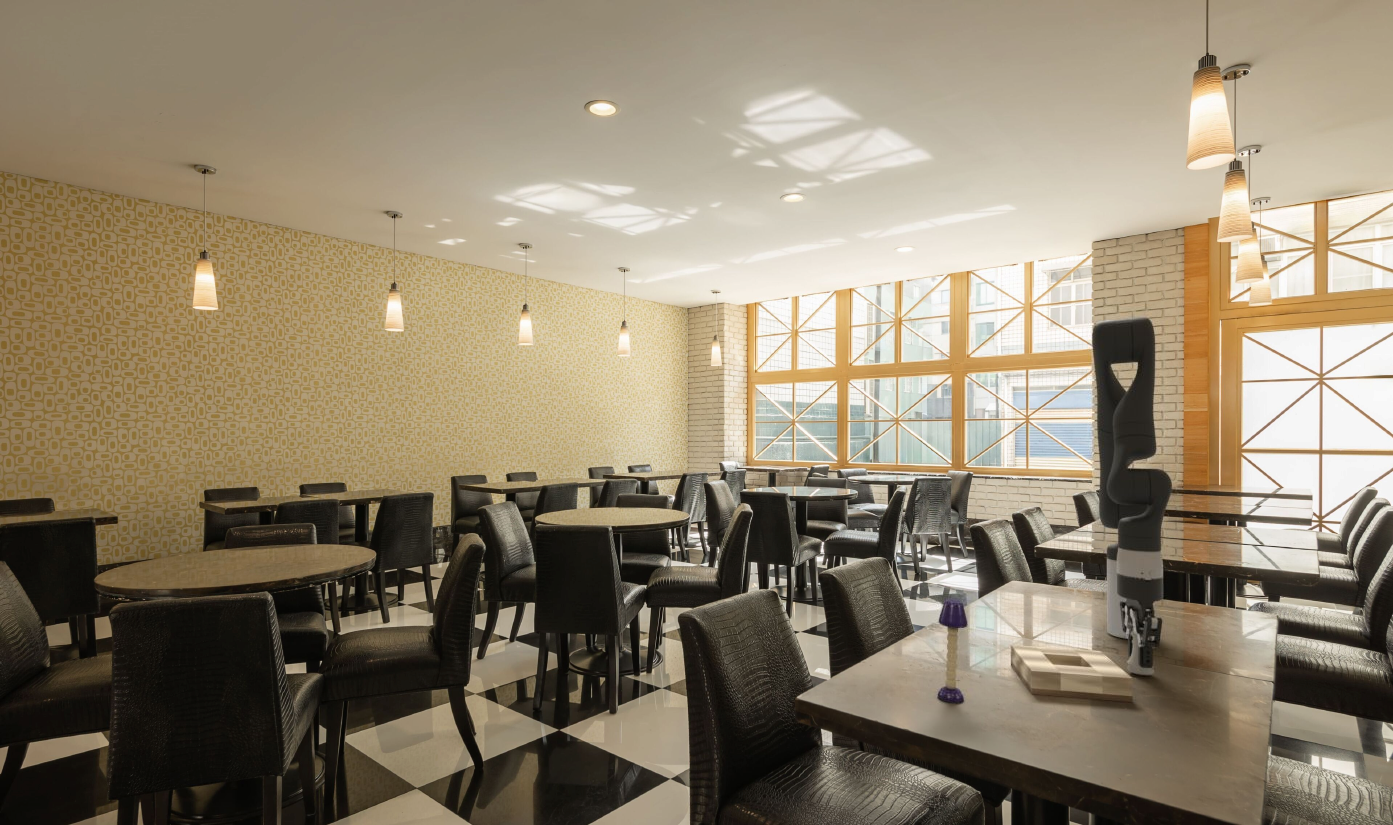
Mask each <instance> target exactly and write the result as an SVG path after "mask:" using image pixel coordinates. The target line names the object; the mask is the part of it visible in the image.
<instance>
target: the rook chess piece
mask: <svg viewBox="0 0 1393 825" xmlns="http://www.w3.org/2000/svg"><path fill="white" fill-rule="evenodd" d="M1140 629H1141V630H1143V628H1140ZM1130 634H1131V635H1132V637H1133V640H1132V643H1133V649H1132V654H1131V656H1130V658H1129V659H1128V660H1127V662H1126V663H1127V664H1128V665H1127V666H1126V668H1127V670H1128V671H1129V672H1130V673H1132V674H1136V675H1140V676H1151V675H1153V673H1155V670H1154V665H1153V667H1152V668H1142V667H1141V666H1139V664H1138V646H1139V645H1138V638H1137V634H1135V633H1134V629H1133V628H1132V632H1131V633H1130ZM1142 637H1143V635H1142ZM1148 638H1149V637H1148Z"/></svg>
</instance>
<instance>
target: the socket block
mask: <svg viewBox="0 0 1393 825" xmlns="http://www.w3.org/2000/svg"><path fill="white" fill-rule="evenodd" d="M1010 666H1011V667H1012V669H1013V670H1014V673H1016V675H1017V676H1018V677H1019V679H1020V680H1021V682H1023V685H1024V686H1025V687H1026V688H1027V689H1028V692H1029V693H1030V694H1031V695H1039V696H1054V697H1066V698H1075V699H1076V698H1077V699H1078V698H1079V699H1090V700H1103V701H1113V702H1114V701H1115V702H1116V701H1117V702H1124V703H1126V702H1127V703H1129V702H1130V703H1133V702H1134V700H1133V698H1134V697H1133V692H1134V691H1133V687H1134V686H1133V685H1134V684H1133V677H1132V676H1131V675H1129V674H1128V673H1127V672H1125V671H1124V670H1123V669H1122V668H1121V667H1120V666H1119V665H1117V664H1116V662H1114V661H1112V660H1111V659H1110V658H1109V657H1107V656H1106V655H1105V654H1104V653H1103V652H1102V651H1100V650H1089V649H1078V648H1077V649H1075V648H1063V647H1061V648H1060V647H1047V646H1036V645H1035V646H1034V645H1033V646H1031V645H1021V644H1020V645H1018V644H1017V645H1016V644H1010Z"/></svg>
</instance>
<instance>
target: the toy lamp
mask: <svg viewBox="0 0 1393 825" xmlns="http://www.w3.org/2000/svg"><path fill="white" fill-rule="evenodd" d="M966 615H967V614H966V610H965V606H964V603H963V602H962V601H960V600H958V599H951V598H948V599H945V600H944V602H943V605H942V608H941V610H940V613H939V617H938V623H939V624H940V625H942V626H944V627H947V633H948V634H947V635H946V636H947V637H946V638H947V645H946V649H947V652H946V659H947V660H946V663H945V668H946V670H945V677H946V678H945V686H942V687H941V688H940V689H939V691H938V692H937V698H938V699H939V700H942V701H943V702H947V703H952V704H953V703H955V704H957V703H958V704H959V703H962V702H964V701H965V698H964V695H963V694H964V693H963V692H962V691H961V690H960V689H959V688H957V687H956V686H957V681H956V679H957V668H958V663H957V661H958V653H957V652H958V644H957V643H958V641H959V637H958V633H959V629H965V628H967V626H968V619H967V616H966Z"/></svg>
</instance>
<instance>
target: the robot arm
mask: <svg viewBox="0 0 1393 825" xmlns="http://www.w3.org/2000/svg"><path fill="white" fill-rule="evenodd" d="M1091 333H1092V334H1091V335H1092V336H1091V342H1092V343H1091V344H1092V345H1091V346H1092V355H1093V363H1094V373H1095V383H1096V385H1095V386H1096V400H1097V401H1096V404H1097V405H1096V407H1097V408H1096V426H1097V427H1096V428H1097V430H1096V431H1097V443H1098V456H1099V493H1098V494H1099V496H1098V498H1099V501H1098V513H1099V519H1100V523H1101V524H1102V526H1104V527H1105V528H1106V529H1111V530H1117V540H1118V541H1117V542H1116V543H1113V544H1110V545H1107V547H1106V613H1107V614H1106V620H1107V621H1106V626H1107V627H1106V628H1107V630H1106V632H1107V634H1109V635H1111V636H1114V637H1117V638H1122V639H1126V640H1127V651H1128V652H1127V654H1128V656H1127V657H1128V658H1129V659H1130V656H1131V654H1132V649H1133V643H1132V640H1133V637H1132V635H1131V634H1130V633H1131V632H1132V628H1133V629H1134V633H1135V634H1137V638H1138V645H1139V646H1138V664H1139V666H1141V667H1142V668H1152V667H1153V666H1154V649H1155V648H1159V647H1160V641H1161V636H1162V635H1161V633H1162V627H1163V618H1162V617H1157V616H1156V614H1157V613H1156V611H1155V602H1161V601H1163V599H1164V562H1163V556H1162V525H1163V521H1164V516H1165V513H1166V509H1167V506H1168V504H1169V501H1170V498H1171V494H1172V492H1173V483H1172V479H1171V477H1170V476H1169V474H1168V473H1167V472H1166V471H1164V470H1163V469H1160V468H1135V467H1134V468H1133V467H1131V468H1130V466H1131V465H1132V464H1133V463H1134V462H1136V461H1142V460H1147V459H1150V458H1152V457H1154V456H1155V454H1156V453H1157V439H1156V438H1157V437H1156V429H1155V428H1156V427H1155V426H1156V425H1155V419H1154V418H1155V417H1154V416H1155V415H1154V398H1155V382H1156V381H1155V380H1156V334H1155V333H1156V332H1155V329H1154V325H1153V323H1152V321H1151V320H1150V318H1148V317H1144V316H1143V317H1128V318H1118V319H1117V318H1116V319H1107V320H1100V321H1098V322H1096V323H1095V324H1094V326H1093V328H1092V332H1091ZM1128 363H1137V369H1136V374H1135V376H1134V379H1133V381H1132V382H1131V384H1130V386H1129V388H1128V389H1127V391H1126V389H1125V388H1124V387H1123V385H1122V384H1121V383H1120V381H1119V380H1118V378H1117V376H1116V375H1115V373H1114V370H1113V367H1112V365H1114V364H1128ZM1140 628H1143V630H1141V629H1140ZM1142 635H1143V637H1142ZM1148 637H1149V638H1148ZM1153 668H1154V667H1153ZM1153 668H1152V669H1153Z"/></svg>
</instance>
